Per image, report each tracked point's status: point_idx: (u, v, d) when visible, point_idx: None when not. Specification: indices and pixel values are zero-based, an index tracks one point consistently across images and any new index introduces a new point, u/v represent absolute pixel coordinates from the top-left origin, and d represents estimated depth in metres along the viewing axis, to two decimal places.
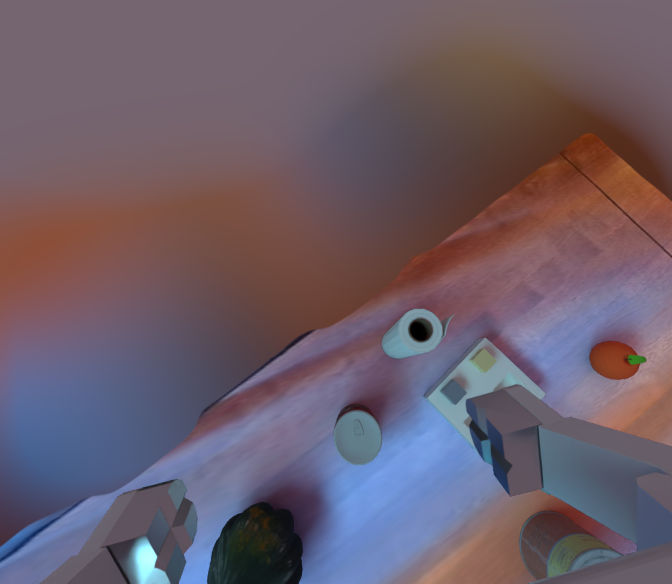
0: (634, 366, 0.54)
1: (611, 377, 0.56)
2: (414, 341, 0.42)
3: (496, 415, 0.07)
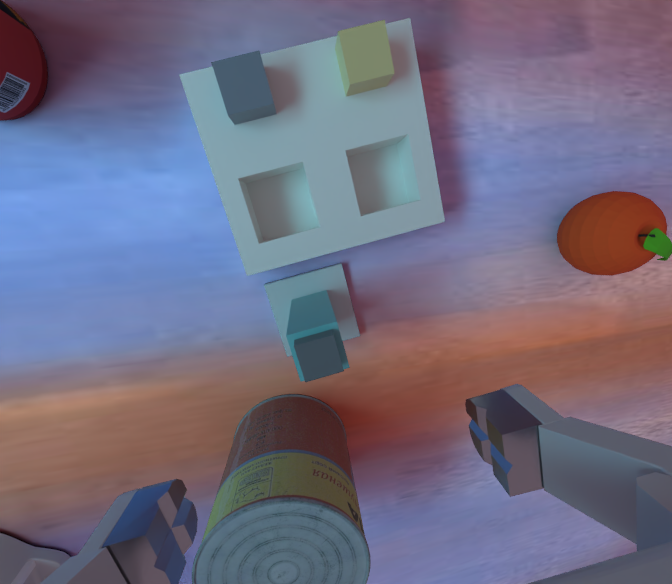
0: (645, 254, 0.24)
1: (578, 259, 0.26)
2: None
3: (496, 415, 0.07)
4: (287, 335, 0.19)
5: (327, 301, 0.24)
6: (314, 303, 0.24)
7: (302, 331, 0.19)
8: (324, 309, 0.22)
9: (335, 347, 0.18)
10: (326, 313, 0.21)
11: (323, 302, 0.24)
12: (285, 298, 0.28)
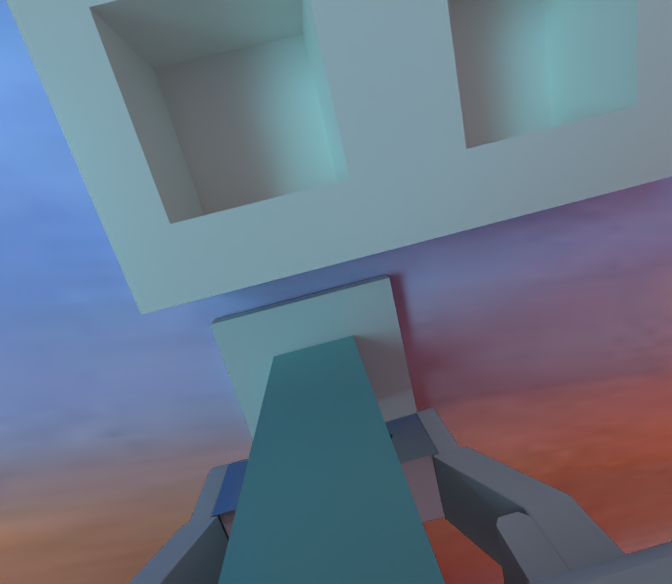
0: None
1: None
2: None
3: (399, 442, 0.07)
4: None
5: (365, 390, 0.09)
6: (328, 390, 0.09)
7: None
8: (364, 441, 0.07)
9: None
10: (377, 481, 0.06)
11: (353, 392, 0.09)
12: (259, 353, 0.12)
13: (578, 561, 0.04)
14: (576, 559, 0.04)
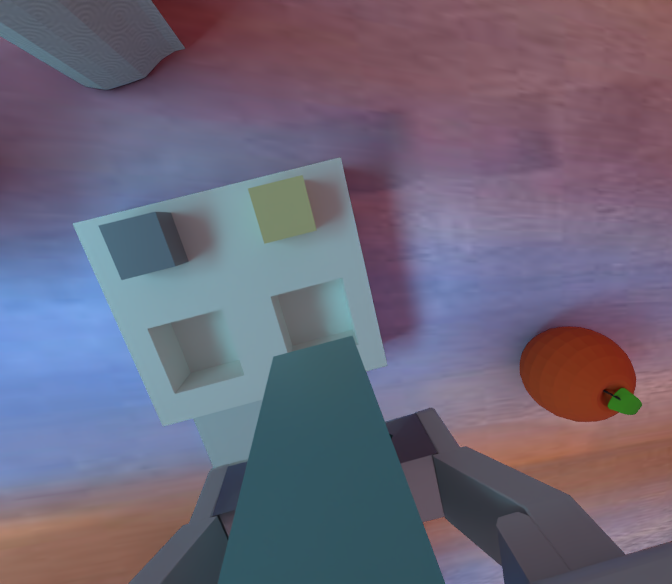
0: (610, 413, 0.21)
1: (539, 401, 0.23)
2: None
3: (399, 442, 0.07)
4: None
5: (365, 390, 0.09)
6: (328, 390, 0.09)
7: None
8: (364, 442, 0.07)
9: None
10: (378, 482, 0.06)
11: (353, 392, 0.09)
12: (217, 429, 0.25)
13: (578, 561, 0.04)
14: (576, 559, 0.04)
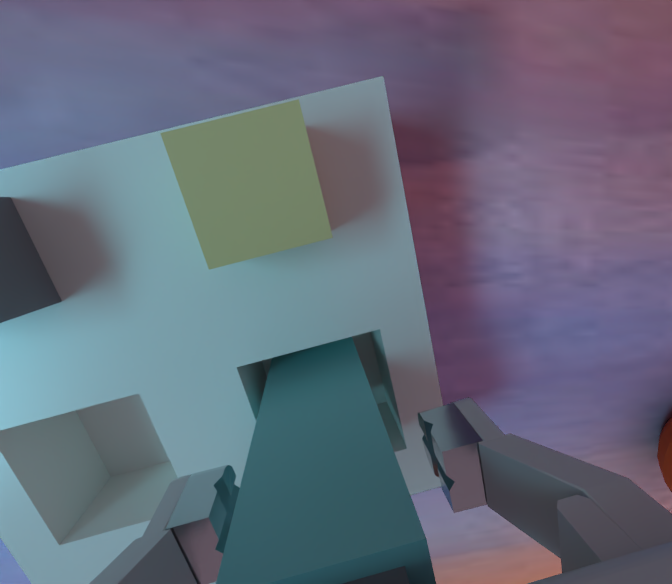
0: None
1: None
2: None
3: (441, 430, 0.07)
4: None
5: (358, 373, 0.09)
6: (325, 373, 0.10)
7: (283, 581, 0.05)
8: (355, 414, 0.08)
9: None
10: (366, 444, 0.07)
11: (348, 375, 0.10)
12: None
13: (648, 541, 0.04)
14: (645, 539, 0.04)
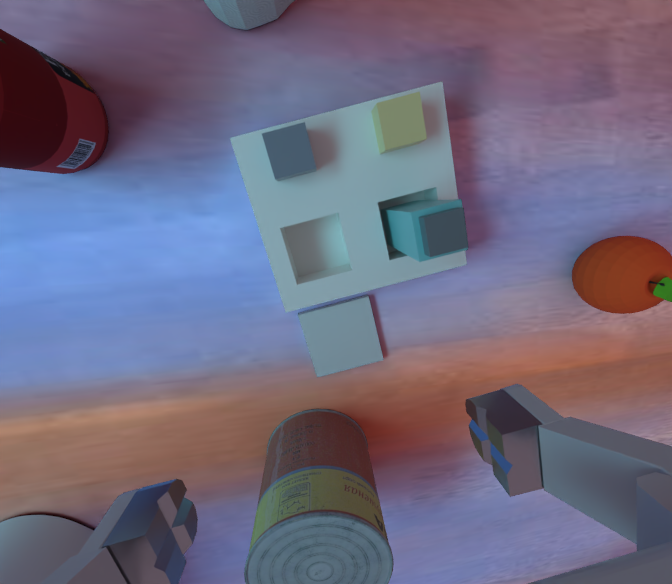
0: (654, 300, 0.25)
1: (591, 298, 0.28)
2: None
3: (496, 415, 0.07)
4: (412, 211, 0.19)
5: (428, 200, 0.24)
6: (414, 203, 0.25)
7: (427, 209, 0.19)
8: (433, 201, 0.22)
9: (463, 221, 0.19)
10: (440, 201, 0.21)
11: (424, 201, 0.24)
12: (316, 326, 0.30)
13: None
14: None
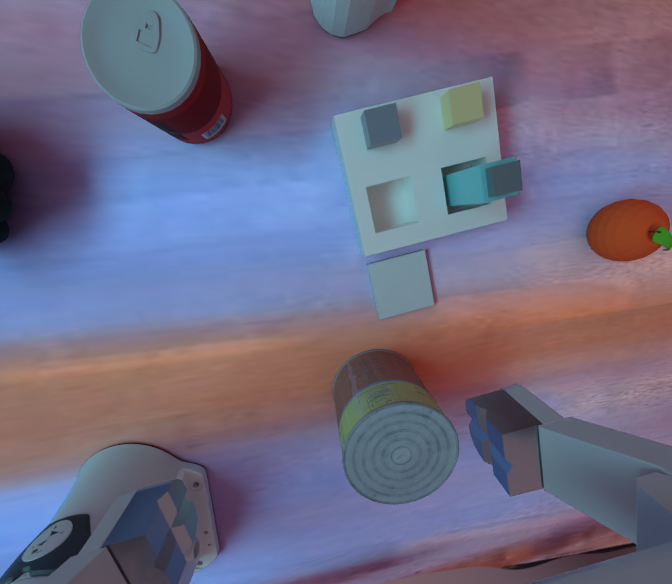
0: (653, 245, 0.33)
1: (603, 248, 0.35)
2: None
3: (496, 415, 0.07)
4: None
5: None
6: None
7: (492, 162, 0.26)
8: None
9: (519, 170, 0.26)
10: None
11: None
12: (382, 275, 0.37)
13: None
14: None
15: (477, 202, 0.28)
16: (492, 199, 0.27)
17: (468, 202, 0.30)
